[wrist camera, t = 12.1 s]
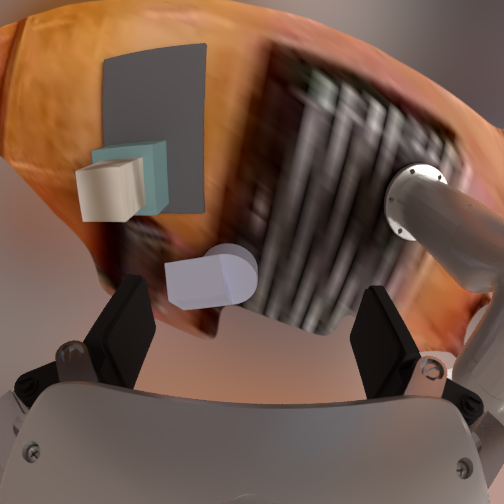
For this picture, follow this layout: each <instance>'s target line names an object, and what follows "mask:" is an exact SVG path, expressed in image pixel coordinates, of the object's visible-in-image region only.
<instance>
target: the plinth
mask: <svg viewBox="0 0 504 504" xmlns="http://www.w3.org/2000/svg"><path fill="white" fill-rule="evenodd" d="M91 153H92V164H94V163H96V162H99V161H102V160H111V159H122V158H135V157H143V173H144V187H145V199H146V204H145V205H144V206H143V207H142V208H141V209H140V210H138V211H137V212H136V213H135V214H134V215H158V214H159V213H160V212H161V211H162V210H163V209H164V208H165V207H166V206H167V205H168V204H169V195H168V178H167V152H166V140H162V141H148V142H136V143H125V144H116V145H109V146H105V147H102V148H99V149H95V150H92V151H91Z"/></svg>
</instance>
